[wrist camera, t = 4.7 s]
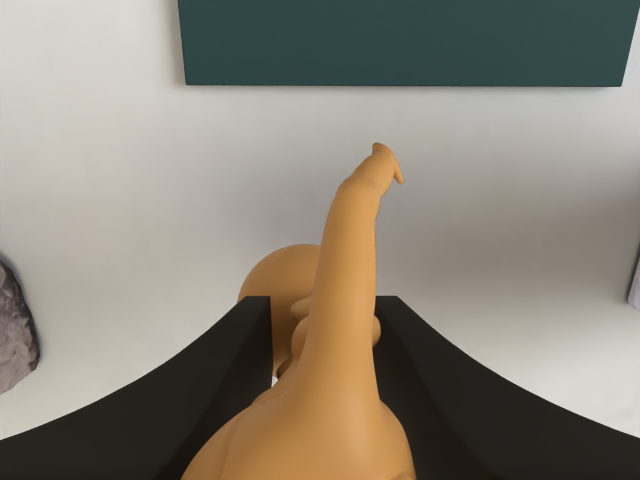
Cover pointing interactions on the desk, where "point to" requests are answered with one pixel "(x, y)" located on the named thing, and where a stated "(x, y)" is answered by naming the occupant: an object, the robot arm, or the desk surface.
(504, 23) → the mat
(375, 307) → the robot arm
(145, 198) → the desk surface
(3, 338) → the geode
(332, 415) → the figurine
